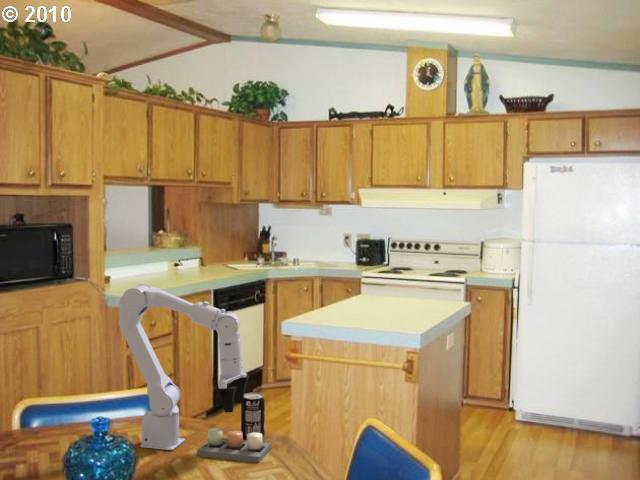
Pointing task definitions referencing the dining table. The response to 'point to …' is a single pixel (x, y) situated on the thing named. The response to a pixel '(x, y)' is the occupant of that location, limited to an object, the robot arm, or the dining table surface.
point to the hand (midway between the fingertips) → (234, 407)
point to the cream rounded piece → (254, 440)
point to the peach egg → (234, 438)
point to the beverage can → (253, 414)
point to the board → (234, 451)
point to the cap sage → (215, 436)
